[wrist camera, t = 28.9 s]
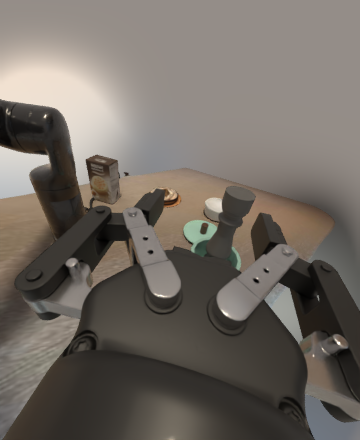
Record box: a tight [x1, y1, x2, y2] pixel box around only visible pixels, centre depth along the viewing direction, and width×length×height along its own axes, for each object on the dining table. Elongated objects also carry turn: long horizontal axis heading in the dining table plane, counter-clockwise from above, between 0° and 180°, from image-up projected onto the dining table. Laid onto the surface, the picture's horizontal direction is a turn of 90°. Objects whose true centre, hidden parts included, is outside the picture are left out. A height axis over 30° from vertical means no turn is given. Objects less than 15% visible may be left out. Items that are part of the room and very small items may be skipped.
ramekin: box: [205, 198, 223, 222], centre depth 70 cm, size 11×11×5 cm
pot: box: [190, 237, 241, 270], centre depth 46 cm, size 13×13×8 cm
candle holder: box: [204, 186, 256, 260], centre depth 40 cm, size 6×6×25 cm
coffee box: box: [86, 155, 120, 204], centre depth 66 cm, size 9×6×16 cm
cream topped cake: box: [150, 186, 181, 207], centre depth 76 cm, size 15×15×4 cm
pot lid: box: [183, 220, 217, 244], centre depth 59 cm, size 14×14×5 cm
